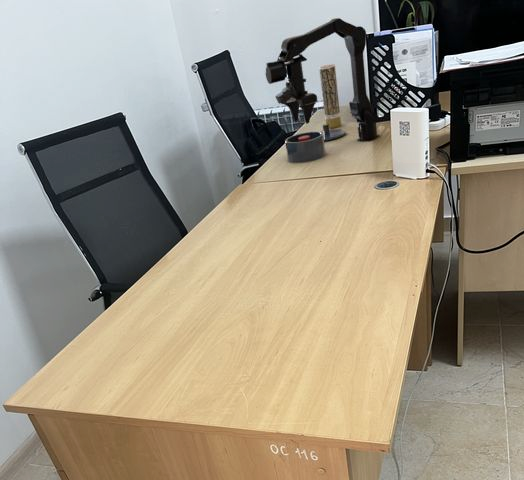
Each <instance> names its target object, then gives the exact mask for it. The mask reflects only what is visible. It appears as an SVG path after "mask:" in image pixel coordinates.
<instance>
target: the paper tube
mask: <svg viewBox="0 0 524 480" xmlns="http://www.w3.org/2000/svg"><path fill="white" fill-rule="evenodd" d="M318 68H319V69H318V71H319V79H320V87H321V96H322V103H323V111H324V112H323V113H324V121H325V124H329V129H337V128H339V127H341V124H342V120H341V110H340V109H341V108H340V101H339V100H340V99H339V92H338V81H337V74H336V73H337V72H336V65H335V64H333V63H331V64H326V65H322V66H319V67H318Z"/></svg>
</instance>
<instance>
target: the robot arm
mask: <svg viewBox="0 0 524 480" xmlns="http://www.w3.org/2000/svg"><path fill="white" fill-rule="evenodd" d="M333 34H336V35H337V36H338V37H340V38H341V39H343V40H344V44H345V48H346V50H347V52H348V54H349V57H350V66H351V67H350V68H351V78H352V79H351V80H352V88H353V98H352V100H351V101H349V103H348V104H349V113H350V114H351V117H352V118H354V119H355V121H356V123H357V124H358V127H357V133H358V138H357V141H358V142H359V141H360V142H362V141H364V142H365V141H368V142H369V141H373V140H375V139H377V138H378V137H380V134H378V128H377V123H378V122H379V117H380V116H379V115H378V114H376V112H374V111H373V108H372V103H371V101H370V99H369V97H368V95H367V83H366V72H365V71H366V70H365V60H364V52H365V48H366V45H367V44H366V43H367V30H366V29H365V28H364V27H363V26H356V25H354V24H352V23H350V22H347V21H345V20H343V19H342V18H340V17H336V18H335V17H334V18H332V19H331V20H329V21H328V22H325V23H323V24H322V25H319V26H317V27H315V28H313V29H311V30H310V31H307V32H306V33H304V34H300V35H295V36H291V37H288V38H285V39H284V40H282V42H281V45H280V51H279V55H278V57H277V59H276V60H275V61H271V62H266V63H265V66H266V67H265V73H264V74H265V78H266V81H267V83H268V84H269V85H273V84H275V83H279V82H282V81H285V80H286V78H287V81H286V82H285V87H284V88H282V89H281V90H280V91H278V92H277V93H276V94H275V95H274V98H275V99H276V101H277V103H278V104H279V105H284V106H286V107H288V109H289V111H290V113H291V116H292V118H293V120H294V122H298V121H299V113H300V109H301V110H302V114H303V118H304V122H305V124H307V125H308V124H309V123H310V120H311V117H312V114H313V110H314V107H315V105H316V104H317V102H318V95H317V94H315V93H314V92H308V90H306V86H305V83H306V82H307V79H306V78H304V71H303V64H302V63H303V62H306V61H307V60H308V58H307V57H305V56H304V55H303V54H302V53H303V52H305V51H306V50H307V48H309V47H310V46H311V45H314V44H315V43H317V42H319V41H321V40H323V39H325V38H327V37H329V36H331V35H333Z"/></svg>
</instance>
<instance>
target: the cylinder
mask: <svg viewBox="0 0 524 480" xmlns="http://www.w3.org/2000/svg"><path fill="white" fill-rule="evenodd" d="M298 139H299V142H303V141H308V140H310V136H301V137H299V138H298Z"/></svg>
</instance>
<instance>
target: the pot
mask: <svg viewBox="0 0 524 480" xmlns="http://www.w3.org/2000/svg"><path fill="white" fill-rule="evenodd" d="M301 136H310V140H308V141H303V142H299V139H298V138H299V137H301ZM284 144H285V150H286V156H287V160H288V162H289V163H294V164H302V163H308V162H312V161H316V160H319V159H322V158H323V157H325V155H326V145H325V141H324V136H323V133H322V132H321V131H306V132H301V133H297V134H293V135H291V136H289V137H287V138H286V139H285V140H284Z"/></svg>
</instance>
